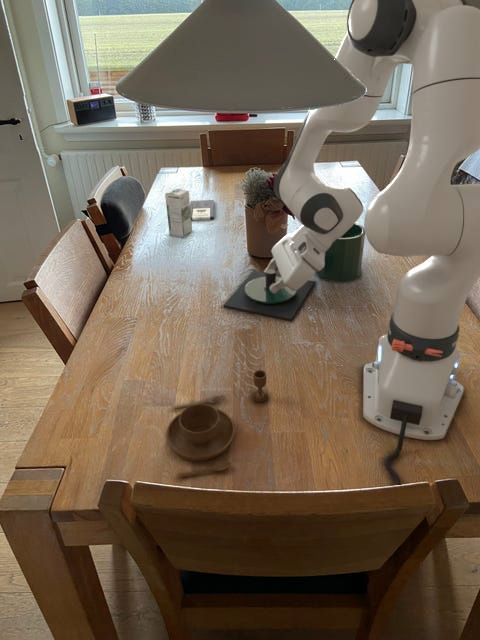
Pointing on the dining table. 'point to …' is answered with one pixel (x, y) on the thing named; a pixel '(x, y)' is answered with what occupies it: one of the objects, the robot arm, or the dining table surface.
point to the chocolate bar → (202, 210)
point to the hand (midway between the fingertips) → (268, 282)
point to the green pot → (344, 256)
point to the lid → (267, 290)
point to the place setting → (206, 429)
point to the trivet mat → (272, 310)
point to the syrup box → (178, 212)
